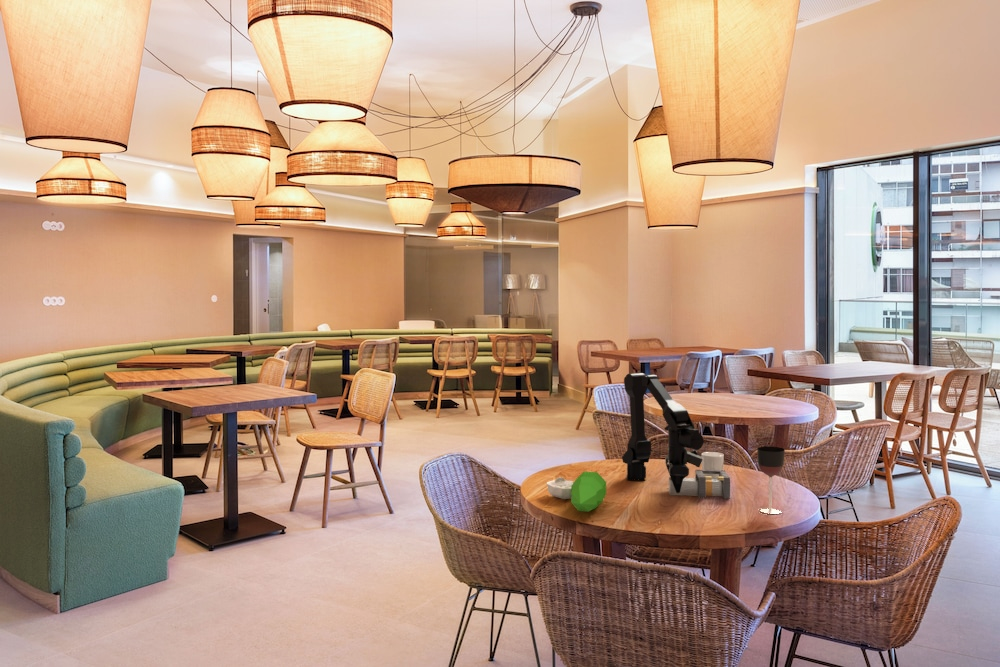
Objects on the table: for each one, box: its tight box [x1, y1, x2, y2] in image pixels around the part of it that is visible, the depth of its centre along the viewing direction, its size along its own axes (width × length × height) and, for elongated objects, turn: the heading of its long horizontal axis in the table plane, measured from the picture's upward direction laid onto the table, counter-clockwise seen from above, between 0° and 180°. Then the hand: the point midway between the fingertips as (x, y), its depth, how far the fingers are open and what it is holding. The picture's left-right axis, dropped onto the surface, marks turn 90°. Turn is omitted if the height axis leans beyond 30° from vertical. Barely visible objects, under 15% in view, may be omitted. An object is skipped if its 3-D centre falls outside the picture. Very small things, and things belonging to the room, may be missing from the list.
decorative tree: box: [570, 471, 607, 512], centre depth 236 cm, size 11×12×30 cm
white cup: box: [701, 451, 725, 479], centre depth 272 cm, size 8×8×10 cm
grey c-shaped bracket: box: [694, 469, 731, 500], centre depth 253 cm, size 10×11×7 cm
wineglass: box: [756, 445, 786, 514], centre depth 232 cm, size 8×9×20 cm
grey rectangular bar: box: [668, 476, 723, 497], centre depth 254 cm, size 20×4×5 cm, turn 82°
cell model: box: [546, 476, 574, 500], centre depth 250 cm, size 10×12×7 cm
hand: (676, 489), depth 255 cm, fingers open, 9 cm apart
